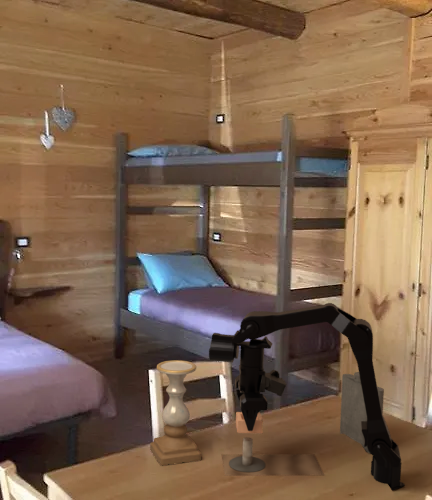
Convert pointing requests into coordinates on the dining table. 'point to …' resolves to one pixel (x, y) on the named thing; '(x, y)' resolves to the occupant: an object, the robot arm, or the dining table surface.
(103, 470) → the dining table surface
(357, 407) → the hip flask
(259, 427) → the collar
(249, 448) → the post board
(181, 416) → the candle holder
